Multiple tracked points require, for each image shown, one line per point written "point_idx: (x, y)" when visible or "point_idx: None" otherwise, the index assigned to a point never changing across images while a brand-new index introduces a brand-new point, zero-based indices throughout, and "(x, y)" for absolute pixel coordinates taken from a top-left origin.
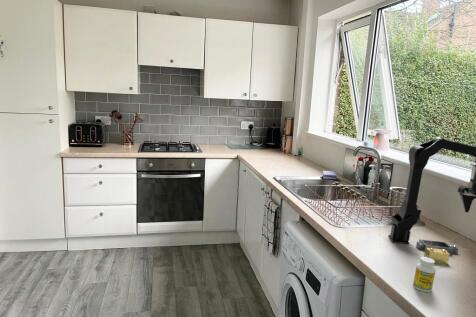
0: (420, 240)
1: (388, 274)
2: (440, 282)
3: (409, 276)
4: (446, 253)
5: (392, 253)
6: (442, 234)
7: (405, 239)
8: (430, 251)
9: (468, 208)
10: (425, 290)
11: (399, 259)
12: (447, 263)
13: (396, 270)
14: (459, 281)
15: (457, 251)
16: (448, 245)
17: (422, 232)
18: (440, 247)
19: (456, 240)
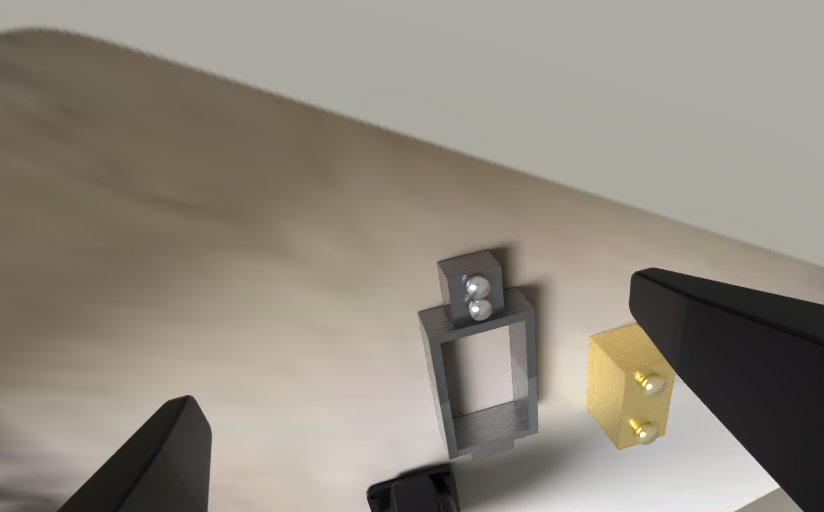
0: (465, 453)
1: (737, 490)
2: None
3: None
4: (673, 372)
5: (581, 499)
6: (79, 281)
7: (443, 494)
8: (660, 433)
9: (172, 484)
10: None
11: (629, 477)
12: (635, 324)
13: (712, 476)
14: None
15: (493, 259)
16: (486, 326)
17: None
18: (535, 370)
19: (170, 190)
